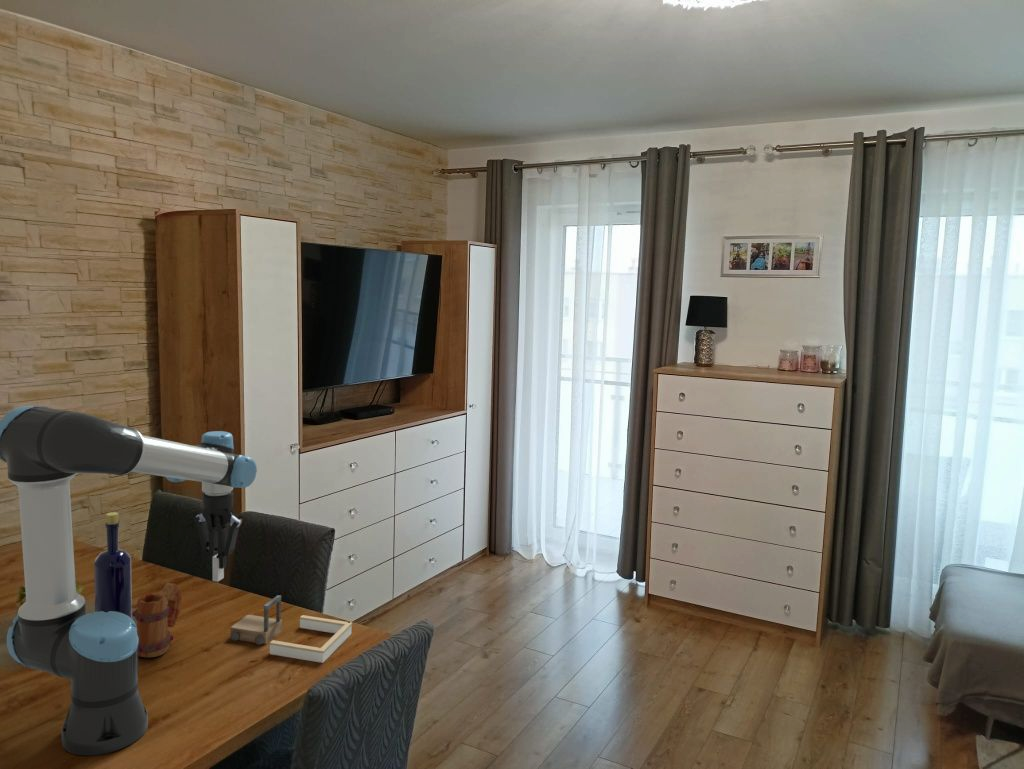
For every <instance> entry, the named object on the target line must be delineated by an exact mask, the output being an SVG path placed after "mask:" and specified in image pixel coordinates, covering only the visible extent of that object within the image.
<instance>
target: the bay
mask: <svg viewBox="0 0 1024 769" xmlns="http://www.w3.org/2000/svg"><path fill="white" fill-rule="evenodd" d="M348 622H350V621H342V620H337V619H330V618H325V617H318V616H310V615H303V614H302V615H301V616H300V617H299V628H300V629H306V630H312V631H318V632H325V633H330V634H331V633H332V634H334V635H332V636H331V637H330V638H329V639H328V640H327V641H326V642H325V643H324V644H323V645H322V646H321V647H317V646H311V645H305V644H300V643H299V644H298V643H292V642H286V641H281V640H274V639H272V640H271V641H270V642H269V655H272V656H280V657H284V658H291V659H297V660H304V661H310V662H315V663H316V662H317V663H321V664H323V663H325V662H326V660H328V658H329V657H330V656H332V655H333V653H334V652H335V651H336V650H337V649H338V648H339V647H340V646H341V645H342V644H344V642H345V641H346V640H347V639H348V638H350V636H351V635H352V630H353V629H352V628H353V627H352V626H353V622H350V623H348Z"/></svg>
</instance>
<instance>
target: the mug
mask: <svg viewBox="0 0 1024 769" xmlns="http://www.w3.org/2000/svg"><path fill="white" fill-rule="evenodd" d="M181 605H182V592H181V590H180V587H179V586H178V585H177V583H172V582H171V583H170V582H167V583H166V584H165V585H164V586H163V588H162V590H161V591H160V592H159V593H158V592H157V593H155V594H154V593H148V594H145V596H141V597H139V599H138V601H137V608H136V609H135V610H134V611H132V617H134V619H135V620H136V627H137V635H138V639H139V641H138V657H142V658H155V657H160V656H162V655H163V654H165V653H166V652H167V651H168V650H169V645H170V644H171V642H172V641H173V640H174V636H173V634H172V633H171V631H170V630H169V628H173V627H175V625H176V622H177V620H178V617H179V615H180V612H181V607H182V606H181ZM168 627H169V628H168Z"/></svg>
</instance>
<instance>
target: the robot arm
mask: <svg viewBox="0 0 1024 769" xmlns="http://www.w3.org/2000/svg"><path fill="white" fill-rule="evenodd" d="M234 447H235V446H234V436H233V434H232V433H231V432H228V431H223V430H219V431H218V430H215V431H214V430H213V431H207V432H205V433H203V434H202V435H201V440H200V443H199V444H196V445H192V444H191V445H190V444H185V443H182V442H177V441H172V440H167V439H163V438H162V439H161V438H158V437H152V436H147V435H143V434H141V432H140V431H138V430H137V429H136V428H133V427H131V426H130V427H129V426H126V425H122V424H119V423H116V422H112V421H109V420H106V419H104V418H101V417H98V416H96V415H92V414H88V413H85V412H79V411H72V410H71V411H70V410H64V409H59V408H58V409H57V408H51V407H49V406H46V405H45V406H43V405H39V406H38V405H37V406H36V405H35V406H33V405H25V406H19V407H17V408H14V409H12V410H10V411H8V412H6V414H4V415H3V417H2V418H1V419H0V460H1V461H2V462H4V463H6V467H7V468H6V469H7V479H8V481H9V482H11V483H12V484H14V485H15V486H17V489H18V490H17V491H18V502H19V503H18V504H19V517H20V518H19V519H20V529H21V530H20V531H21V545H22V547H21V548H22V558H23V561H22V562H23V571H24V572H23V573H24V574H23V576H24V588H25V602H24V603H22V605H21V606H20V607H19V608H18V609H17V610H18V611H17V615H16V616H15V617H14V618H13V620H12V623H13V624H12V625H11V626H9V627H8V630H7V635H6V647H7V650H8V653H9V655H10V656H11V657H12V659H13V660H15V661H16V662H17V663H19V664H21V665H23V666H24V667H26V668H29V669H31V670H35V671H42V672H44V673H48V674H51V675H54V676H57V677H60V678H64V679H66V680H70V691H71V692H70V693H71V698H70V699H71V702H70V706H69V709H68V711H67V715H66V717H65V719H64V723H63V726H62V728H61V746H62V747H63V749H64V750H65V751H67V752H69V753H71V754H74V755H78V756H98V755H99V756H100V755H104V754H109V753H113V752H116V751H118V750H121V749H125V748H126V747H128V746H130V745H132V744H134V743H135V742H137V741H138V740H139V739H140V738H142V737H143V735H144V734H145V733H146V731H147V730H148V727H149V726H148V725H149V714H148V711H147V709H146V707H145V706H144V704H143V699H142V697H141V694H140V692H139V682H138V680H139V655H138V641H139V639H138V635H137V623H136V621H134V620H133V617H132V618H130V617H129V616H127V615H125V614H123V613H119V612H114V611H109V612H104V611H99V612H95V611H94V612H93V611H92V612H90V613H87V612H86V610H87V609H86V599H85V597H84V596H83V595H82V594H80V593H78V592H77V589H76V588H77V587H76V573H75V572H76V569H75V554H74V552H75V551H74V537H73V534H74V533H73V522H72V520H73V519H72V518H73V517H72V504H71V502H72V500H71V486H70V484H71V483H70V482H71V481H72V479H73V478H74V477H76V476H77V474H98V475H99V474H103V475H105V474H106V475H115V476H125V475H128V474H130V473H131V472H132V473H139V474H144V475H152V476H159V477H165V478H166V480H167V481H169V482H171V483H179V482H185V481H195V482H199V483H200V482H201V491H202V495H201V507H202V510H201V513H200V514H197V515H195V516H194V517H193V521H194V523H195V525H196V528H197V531H198V537H199V541H200V545H201V550H202V553H204V554H208V556H209V566H210V568H212V582H217V583H218V582H220V581H221V580H223V579H224V578H225V568H226V566H227V556H230V555H231V554H232V553H234V550H235V547H236V543H237V538H238V534H239V530H240V527H241V525H242V524H243V519H242V518H237V517H236V516H235V512H234V509H233V507H234V492H233V490H234V488H238V489H239V488H240V489H245V488H247V487H250V486H251V485H252V484H253V483H254V481H255V480H256V475H257V472H258V467H257V463H256V461H255V460H254V458H252V457H250V456H245V455H243V454H235V453H234V450H235V448H234ZM229 525H230V527H229ZM228 529H229V530H228Z"/></svg>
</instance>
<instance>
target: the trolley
mask: <svg viewBox="0 0 1024 769" xmlns="http://www.w3.org/2000/svg"><path fill="white" fill-rule="evenodd" d="M275 604H276V605H275ZM281 604H282V595H276V596H275V597H273V598H272V599H270V600H269V601H268V602H266V603H265V604H264V605H263V609H264V610H263V616H262V615H261V616H259V615H255V614H246V615H245V616H244V617H242V618H241V619H240V620H239V621H237V622H236V623H234V624H233V625H232V626H230V639H231V640H232V641H234V642H236V641H241V642H242V641H243V642H251V643H255V644H256V645H259V646H260V645H267V644H268V643H270V642H271V641H272V640H274V638H276V637H277V636H278V635H279V634H280V633H282V632H283V619H282V618H281V616H282V614H281V612H282V606H281ZM274 605H275V606H276V609H275V610H276V612H275V613H276V614H275V616H276V618H273V617H272V618H271V617H270V616H269V614H270V612H269V610H270V608H272V607H273V606H274Z"/></svg>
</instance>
